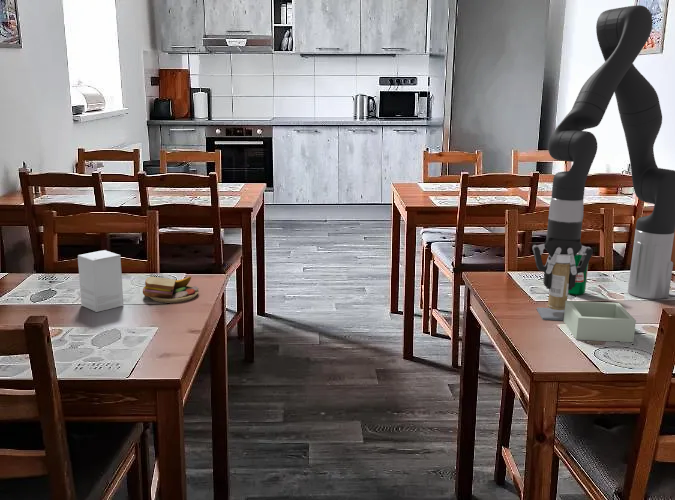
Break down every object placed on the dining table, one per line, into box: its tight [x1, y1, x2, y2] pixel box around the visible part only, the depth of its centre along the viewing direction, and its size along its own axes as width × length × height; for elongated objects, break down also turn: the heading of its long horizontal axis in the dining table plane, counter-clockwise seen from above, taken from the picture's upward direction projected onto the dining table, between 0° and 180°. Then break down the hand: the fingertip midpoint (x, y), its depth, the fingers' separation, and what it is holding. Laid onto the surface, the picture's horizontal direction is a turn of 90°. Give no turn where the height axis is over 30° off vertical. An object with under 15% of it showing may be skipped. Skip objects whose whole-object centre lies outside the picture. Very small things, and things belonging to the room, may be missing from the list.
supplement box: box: [77, 249, 124, 313], centre depth 165 cm, size 7×7×13 cm
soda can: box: [568, 250, 589, 296], centre depth 183 cm, size 5×5×12 cm
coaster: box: [536, 307, 565, 322], centre depth 166 cm, size 8×8×1 cm
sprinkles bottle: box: [546, 254, 570, 310], centre depth 164 cm, size 5×5×14 cm
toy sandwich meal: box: [142, 276, 200, 304], centre depth 175 cm, size 12×14×5 cm
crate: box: [563, 300, 637, 343], centre depth 155 cm, size 12×12×5 cm
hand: (558, 288), depth 165 cm, fingers closed on sprinkles bottle, 4 cm apart
